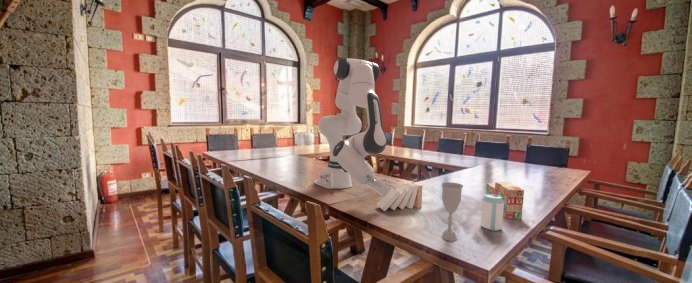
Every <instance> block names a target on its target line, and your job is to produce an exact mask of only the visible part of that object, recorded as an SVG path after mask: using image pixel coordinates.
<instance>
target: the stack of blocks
mask: <svg viewBox="0 0 692 283" xmlns="http://www.w3.org/2000/svg"><path fill="white" fill-rule="evenodd" d="M485 189H486V192H485V194H496V195H500V196H502V199H503V201H504V210H503V219H507V220H522V216H523V205H524V199H525V190H524V189H523V188H521V186H518V185H516V184H513V183H512V182H509V181H495V183H489V182H488V183H486V187H485Z"/></svg>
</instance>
